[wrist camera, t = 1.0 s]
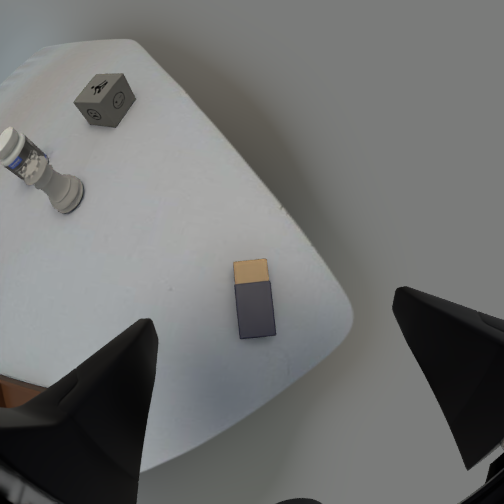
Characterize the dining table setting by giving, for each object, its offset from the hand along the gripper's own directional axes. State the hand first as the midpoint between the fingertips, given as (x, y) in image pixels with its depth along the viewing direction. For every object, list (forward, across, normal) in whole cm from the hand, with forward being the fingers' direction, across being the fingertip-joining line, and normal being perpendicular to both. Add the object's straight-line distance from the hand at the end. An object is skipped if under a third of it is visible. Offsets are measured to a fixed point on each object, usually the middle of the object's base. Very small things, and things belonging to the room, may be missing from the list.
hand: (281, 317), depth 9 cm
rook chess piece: (+20, +20, -3) cm, 29 cm away
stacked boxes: (+12, 0, +7) cm, 14 cm away
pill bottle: (+24, +28, -8) cm, 38 cm away
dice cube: (+27, +16, -13) cm, 34 cm away
